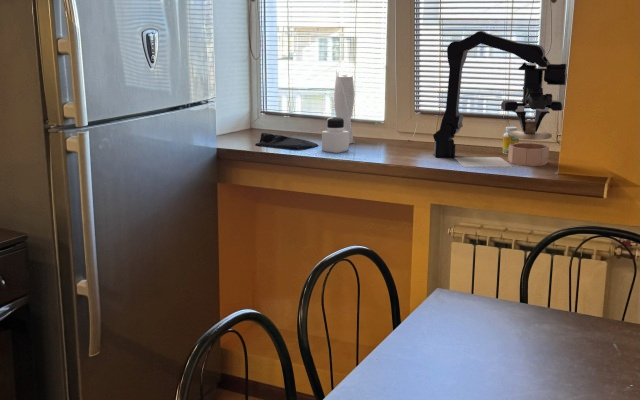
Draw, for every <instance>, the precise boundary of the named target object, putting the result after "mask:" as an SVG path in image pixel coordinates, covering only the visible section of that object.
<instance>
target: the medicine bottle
mask: <svg viewBox="0 0 640 400" xmlns="http://www.w3.org/2000/svg"><path fill="white" fill-rule="evenodd" d="M326 129H327V130H323V131H321V151H323V152H327V153H333V154H338V153H342V152H349V149H350V148H349V147H350V146H349V145H350V144H349V132H348V131H343V129H344V120H343V119H342V118H337V117H328V118H327V119H326Z"/></svg>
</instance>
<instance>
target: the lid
mask: <svg viewBox="0 0 640 400" xmlns="http://www.w3.org/2000/svg"><path fill="white" fill-rule="evenodd" d="M535 131H536V122H535V120H534V121H533V120H525V132H523V131H522V130H517V131H511V132H508V136H509V137H512V138H518V139H519V140H528V141H529V140H533V141H534V140H539V141H540V140H549V139H552V138H553V137H552V133H550V132H545V131H538V130H537V132H535Z"/></svg>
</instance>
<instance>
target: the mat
mask: <svg viewBox="0 0 640 400" xmlns="http://www.w3.org/2000/svg"><path fill="white" fill-rule="evenodd" d="M454 160H455V161H457V162H458V164H460V165H461V166H462V167H463V168H496V167H497V168H503V167H505V168H512V167H514V166H513V165H512V164H511V163H510V162H507V161H506V160H504V159H503V158H502V157H500V156H498V157H497V156H496V157H495V156H494V157H491V156H490V157H489V156H487V157H480V156H479V157H474V156H473V157H469V156H468V157H454Z"/></svg>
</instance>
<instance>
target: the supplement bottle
mask: <svg viewBox="0 0 640 400" xmlns="http://www.w3.org/2000/svg"><path fill="white" fill-rule="evenodd" d="M511 131H518V127H517V126H505V133H503V136H502V139H503V140H502V153H503V154H506V155H508V154H509V145H510V144H514V143H520V142H519V140H520V139H518V138H512V137H509V136H508V132H511Z"/></svg>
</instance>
